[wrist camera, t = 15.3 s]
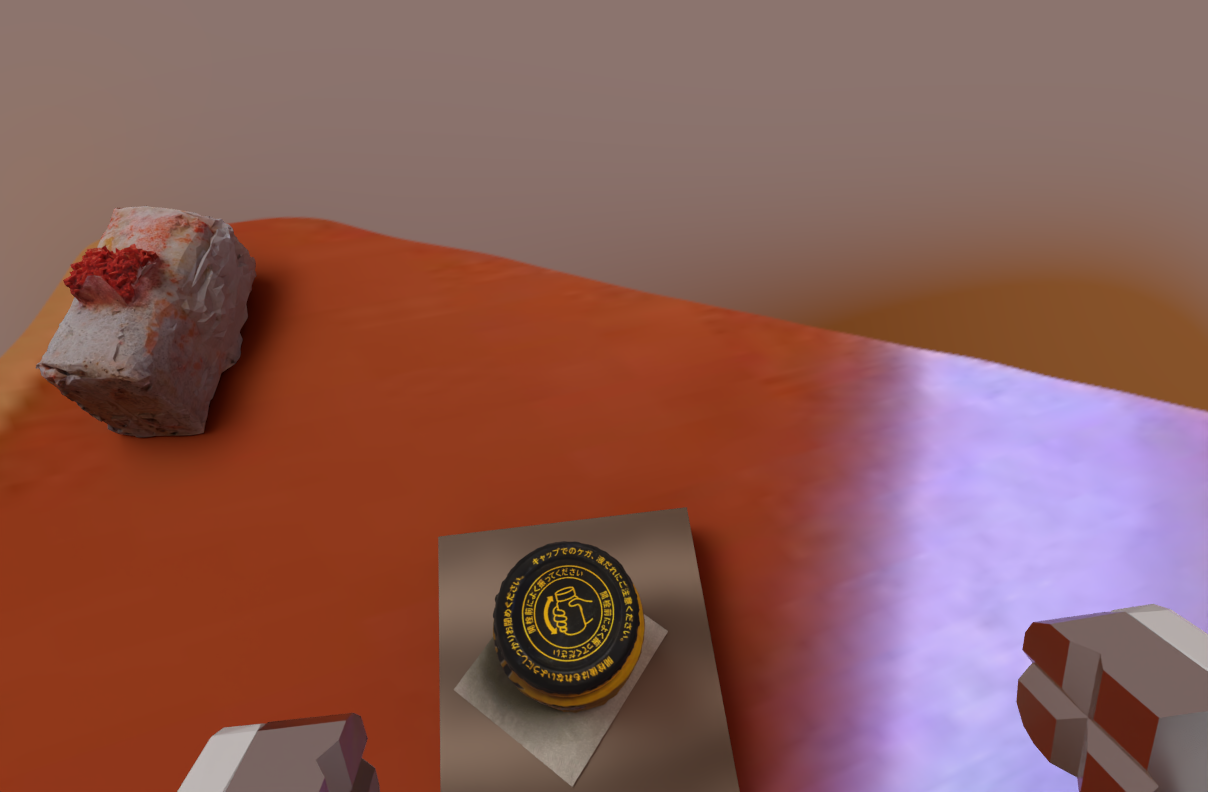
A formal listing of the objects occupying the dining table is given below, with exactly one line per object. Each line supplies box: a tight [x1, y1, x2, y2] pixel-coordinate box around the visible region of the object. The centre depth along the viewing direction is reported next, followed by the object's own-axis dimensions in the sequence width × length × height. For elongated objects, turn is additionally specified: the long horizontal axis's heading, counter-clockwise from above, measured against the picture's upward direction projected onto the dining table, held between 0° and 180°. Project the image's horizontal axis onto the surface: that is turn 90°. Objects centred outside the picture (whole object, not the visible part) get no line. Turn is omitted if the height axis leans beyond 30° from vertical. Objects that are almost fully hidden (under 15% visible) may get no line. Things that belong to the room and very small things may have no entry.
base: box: [438, 507, 740, 792], centre depth 35 cm, size 14×14×4 cm
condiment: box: [454, 541, 668, 786], centre depth 28 cm, size 7×8×12 cm
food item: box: [36, 206, 256, 437], centre depth 42 cm, size 14×8×10 cm, turn 0°
